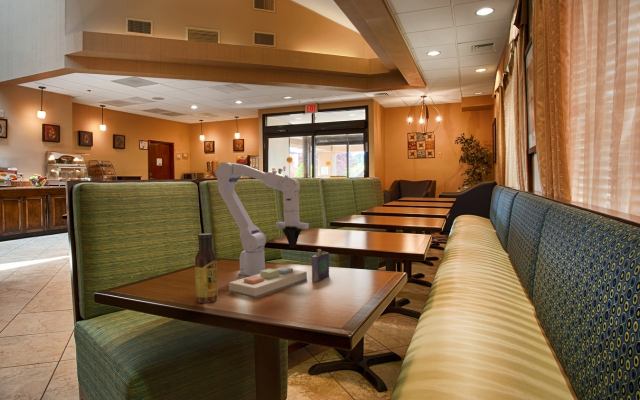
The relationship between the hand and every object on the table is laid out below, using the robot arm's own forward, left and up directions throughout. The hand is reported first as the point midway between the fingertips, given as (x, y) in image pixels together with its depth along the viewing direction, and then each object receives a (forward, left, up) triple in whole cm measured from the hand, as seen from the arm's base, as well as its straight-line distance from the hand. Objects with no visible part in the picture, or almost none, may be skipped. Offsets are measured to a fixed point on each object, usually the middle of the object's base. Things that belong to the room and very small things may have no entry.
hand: (292, 247), depth 136 cm
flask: (+12, +1, -11) cm, 16 cm away
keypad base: (+3, -15, -10) cm, 19 cm away
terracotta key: (+3, -22, -9) cm, 24 cm away
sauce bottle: (-2, -36, -11) cm, 38 cm away
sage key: (+3, -15, -8) cm, 17 cm away
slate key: (+3, -8, -9) cm, 12 cm away
